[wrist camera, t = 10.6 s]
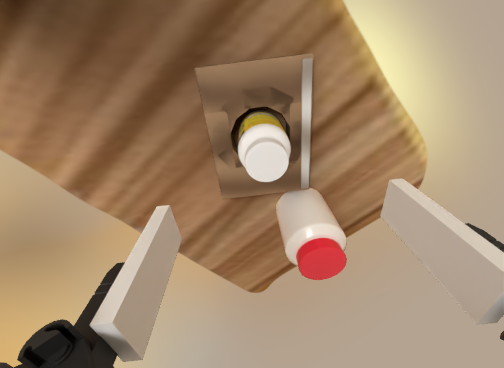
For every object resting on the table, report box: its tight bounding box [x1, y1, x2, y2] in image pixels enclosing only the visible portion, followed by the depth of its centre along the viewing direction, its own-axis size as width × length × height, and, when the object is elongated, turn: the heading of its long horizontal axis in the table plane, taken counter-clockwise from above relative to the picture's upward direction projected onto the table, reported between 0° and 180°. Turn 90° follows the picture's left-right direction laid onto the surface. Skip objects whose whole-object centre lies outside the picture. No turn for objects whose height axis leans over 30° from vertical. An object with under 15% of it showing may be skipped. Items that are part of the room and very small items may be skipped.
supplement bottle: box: [238, 111, 291, 182], centre depth 23 cm, size 5×5×10 cm
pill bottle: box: [276, 188, 347, 280], centre depth 29 cm, size 8×8×11 cm
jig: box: [195, 53, 314, 199], centre depth 26 cm, size 16×12×3 cm
